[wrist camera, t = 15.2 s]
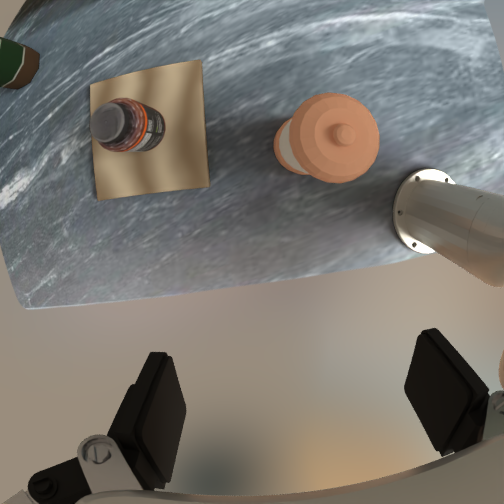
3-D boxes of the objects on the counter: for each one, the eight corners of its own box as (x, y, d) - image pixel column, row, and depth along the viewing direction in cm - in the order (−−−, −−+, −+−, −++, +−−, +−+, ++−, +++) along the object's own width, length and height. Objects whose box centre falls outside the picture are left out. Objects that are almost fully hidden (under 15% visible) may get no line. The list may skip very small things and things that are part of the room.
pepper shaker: (288, 182, 38) (320, 205, 19) (263, 131, 36) (273, 105, 17) (338, 160, 37) (408, 165, 18) (314, 110, 35) (368, 70, 16)
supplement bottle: (118, 122, 34) (73, 113, 23) (156, 99, 33) (121, 80, 22) (135, 160, 35) (92, 163, 25) (174, 138, 35) (142, 131, 24)
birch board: (201, 62, 33) (200, 59, 32) (210, 186, 38) (208, 187, 37) (94, 86, 33) (90, 84, 32) (101, 199, 38) (97, 200, 37)
